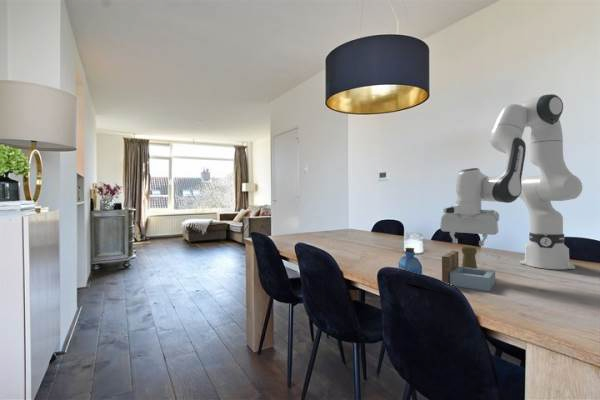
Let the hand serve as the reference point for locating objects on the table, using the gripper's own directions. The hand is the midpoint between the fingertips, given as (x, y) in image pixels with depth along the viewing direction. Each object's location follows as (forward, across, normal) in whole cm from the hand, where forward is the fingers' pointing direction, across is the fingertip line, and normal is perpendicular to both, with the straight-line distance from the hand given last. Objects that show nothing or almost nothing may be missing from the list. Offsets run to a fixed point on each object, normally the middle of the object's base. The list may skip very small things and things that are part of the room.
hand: (468, 244), depth 127 cm
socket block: (+12, -5, +14) cm, 19 cm away
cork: (+12, 0, -1) cm, 12 cm away
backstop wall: (+12, +2, +14) cm, 19 cm away
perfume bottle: (+13, +14, +22) cm, 29 cm away
